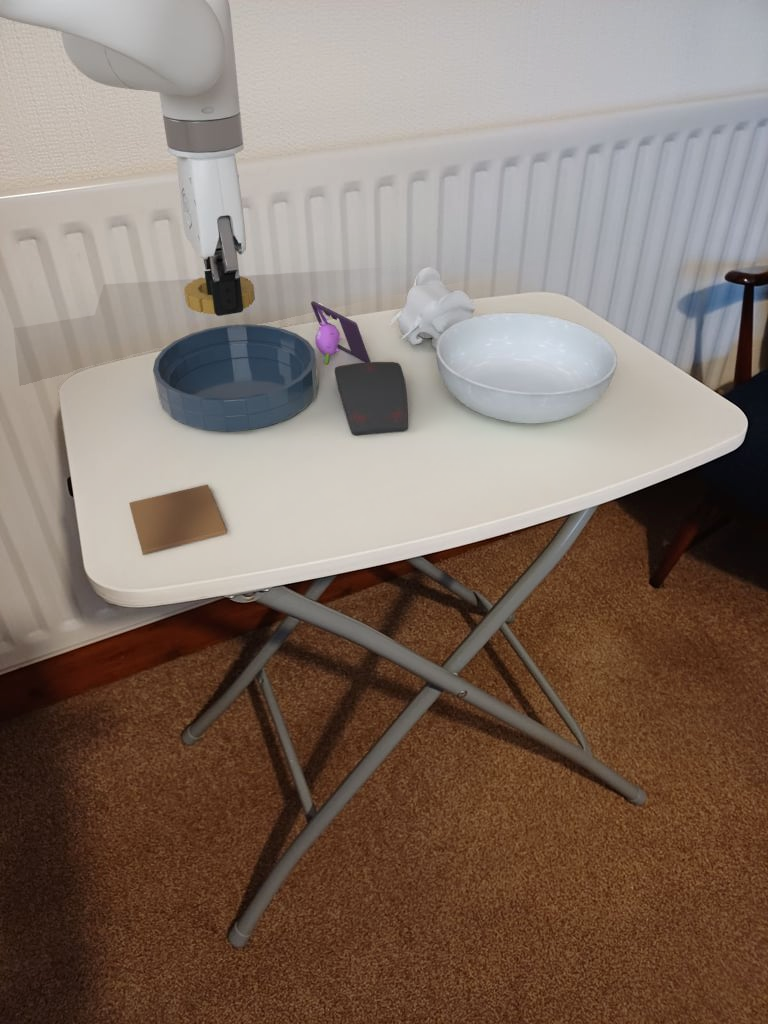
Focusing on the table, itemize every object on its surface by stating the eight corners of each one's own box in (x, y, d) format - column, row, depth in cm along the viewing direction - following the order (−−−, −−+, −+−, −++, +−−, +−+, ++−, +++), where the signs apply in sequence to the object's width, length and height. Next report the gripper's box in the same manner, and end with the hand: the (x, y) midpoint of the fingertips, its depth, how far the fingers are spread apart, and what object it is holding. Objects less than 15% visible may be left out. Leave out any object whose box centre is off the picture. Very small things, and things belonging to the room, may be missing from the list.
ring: (194, 318, 88) (192, 305, 87) (180, 292, 93) (178, 279, 92) (262, 307, 90) (260, 294, 89) (244, 283, 96) (243, 270, 95)
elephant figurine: (380, 335, 109) (379, 273, 104) (457, 320, 113) (460, 259, 107) (408, 365, 102) (409, 300, 97) (489, 348, 106) (494, 285, 100)
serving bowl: (635, 438, 89) (648, 385, 84) (454, 455, 86) (458, 401, 82) (573, 353, 105) (581, 304, 100) (419, 365, 102) (420, 316, 98)
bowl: (177, 449, 87) (170, 414, 84) (148, 372, 101) (141, 340, 98) (339, 414, 93) (337, 380, 90) (290, 345, 107) (288, 314, 104)
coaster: (142, 555, 73) (141, 551, 73) (129, 506, 79) (128, 502, 79) (226, 533, 76) (226, 529, 76) (208, 488, 82) (207, 484, 81)
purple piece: (360, 319, 98) (316, 297, 103) (330, 344, 96) (287, 320, 101) (374, 359, 103) (331, 336, 108) (346, 383, 101) (304, 359, 107)
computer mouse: (395, 374, 100) (395, 345, 98) (415, 431, 90) (415, 401, 87) (332, 379, 99) (331, 350, 97) (345, 437, 89) (344, 407, 86)
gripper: (152, 119, 83) (179, 288, 94) (182, 156, 71) (209, 342, 83) (222, 114, 85) (240, 279, 96) (262, 148, 73) (278, 331, 85)
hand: (226, 307), depth 89 cm, fingers closed on ring, 2 cm apart
